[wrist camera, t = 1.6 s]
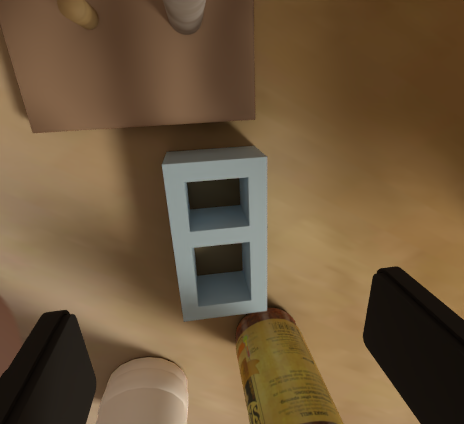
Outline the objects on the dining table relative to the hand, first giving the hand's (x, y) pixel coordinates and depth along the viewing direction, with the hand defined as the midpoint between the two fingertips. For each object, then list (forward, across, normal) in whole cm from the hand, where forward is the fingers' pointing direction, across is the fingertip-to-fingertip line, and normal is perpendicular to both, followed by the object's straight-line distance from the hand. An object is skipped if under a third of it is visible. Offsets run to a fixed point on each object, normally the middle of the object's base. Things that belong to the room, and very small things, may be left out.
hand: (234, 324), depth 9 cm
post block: (+14, +3, -11) cm, 18 cm away
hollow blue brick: (+14, -1, +3) cm, 15 cm away
